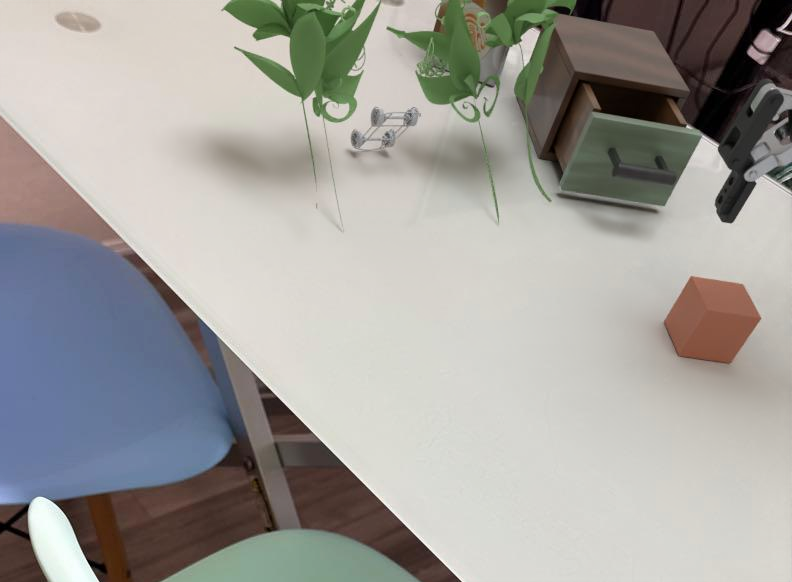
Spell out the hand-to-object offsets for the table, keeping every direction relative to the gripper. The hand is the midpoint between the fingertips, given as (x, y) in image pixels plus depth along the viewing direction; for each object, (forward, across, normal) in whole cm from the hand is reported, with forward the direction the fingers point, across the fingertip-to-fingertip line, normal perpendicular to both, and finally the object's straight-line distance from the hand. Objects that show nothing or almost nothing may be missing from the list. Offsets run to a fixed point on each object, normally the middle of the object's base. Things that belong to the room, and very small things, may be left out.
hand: (771, 226), depth 79 cm
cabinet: (+12, -3, +37) cm, 39 cm away
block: (+12, 0, 0) cm, 12 cm away
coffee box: (+12, -15, +50) cm, 54 cm away
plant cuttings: (+12, -27, +20) cm, 36 cm away
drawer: (+11, -3, +27) cm, 29 cm away
